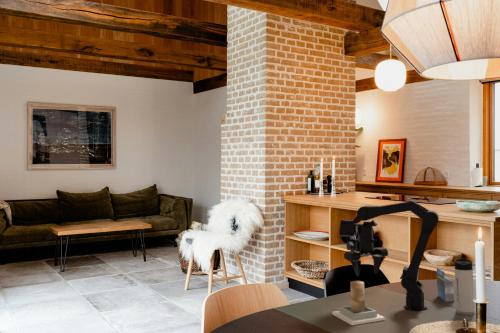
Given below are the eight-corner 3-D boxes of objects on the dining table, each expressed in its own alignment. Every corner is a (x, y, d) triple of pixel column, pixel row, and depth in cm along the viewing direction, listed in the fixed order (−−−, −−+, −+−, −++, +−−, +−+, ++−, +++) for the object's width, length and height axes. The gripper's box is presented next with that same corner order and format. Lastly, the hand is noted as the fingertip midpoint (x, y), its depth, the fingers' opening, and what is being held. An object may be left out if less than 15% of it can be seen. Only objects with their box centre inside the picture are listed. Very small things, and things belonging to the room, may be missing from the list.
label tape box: (454, 301, 194) (453, 271, 194) (444, 302, 195) (443, 271, 195) (446, 295, 203) (445, 267, 203) (436, 296, 203) (435, 267, 203)
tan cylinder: (364, 312, 180) (363, 281, 180) (365, 316, 176) (364, 284, 176) (351, 312, 181) (350, 280, 181) (351, 316, 177) (350, 283, 177)
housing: (363, 309, 187) (363, 302, 187) (385, 320, 174) (384, 311, 174) (332, 314, 183) (332, 306, 183) (351, 325, 170) (351, 316, 170)
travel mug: (473, 310, 182) (471, 258, 182) (475, 316, 176) (473, 261, 176) (455, 309, 184) (453, 257, 184) (456, 314, 178) (455, 261, 178)
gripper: (370, 232, 206) (371, 268, 206) (335, 236, 198) (336, 274, 198) (388, 235, 196) (389, 273, 196) (352, 239, 188) (353, 279, 188)
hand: (366, 274), depth 195 cm, fingers open, 9 cm apart
